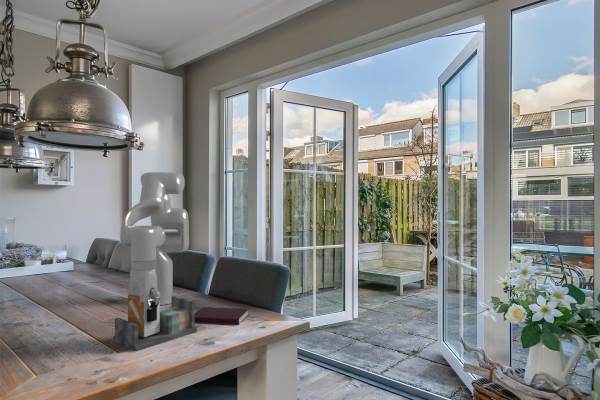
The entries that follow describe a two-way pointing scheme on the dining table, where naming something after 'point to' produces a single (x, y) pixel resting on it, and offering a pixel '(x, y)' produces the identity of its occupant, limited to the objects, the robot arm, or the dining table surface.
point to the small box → (142, 315)
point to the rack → (171, 326)
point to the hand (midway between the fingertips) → (143, 318)
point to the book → (221, 315)
